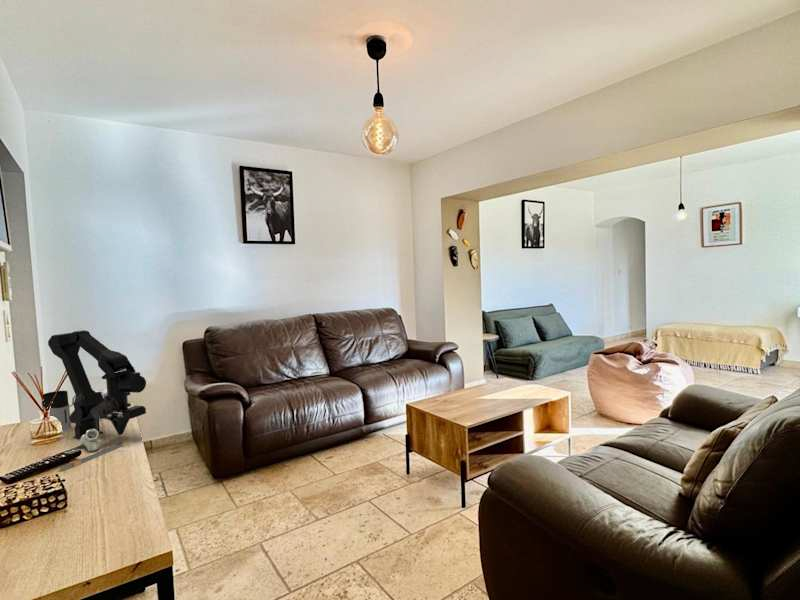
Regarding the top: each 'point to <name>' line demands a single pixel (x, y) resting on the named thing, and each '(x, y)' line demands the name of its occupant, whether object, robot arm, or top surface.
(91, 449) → the pipe fitting
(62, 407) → the glass holder
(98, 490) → the top surface
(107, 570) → the top surface
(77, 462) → the grey metal bars
